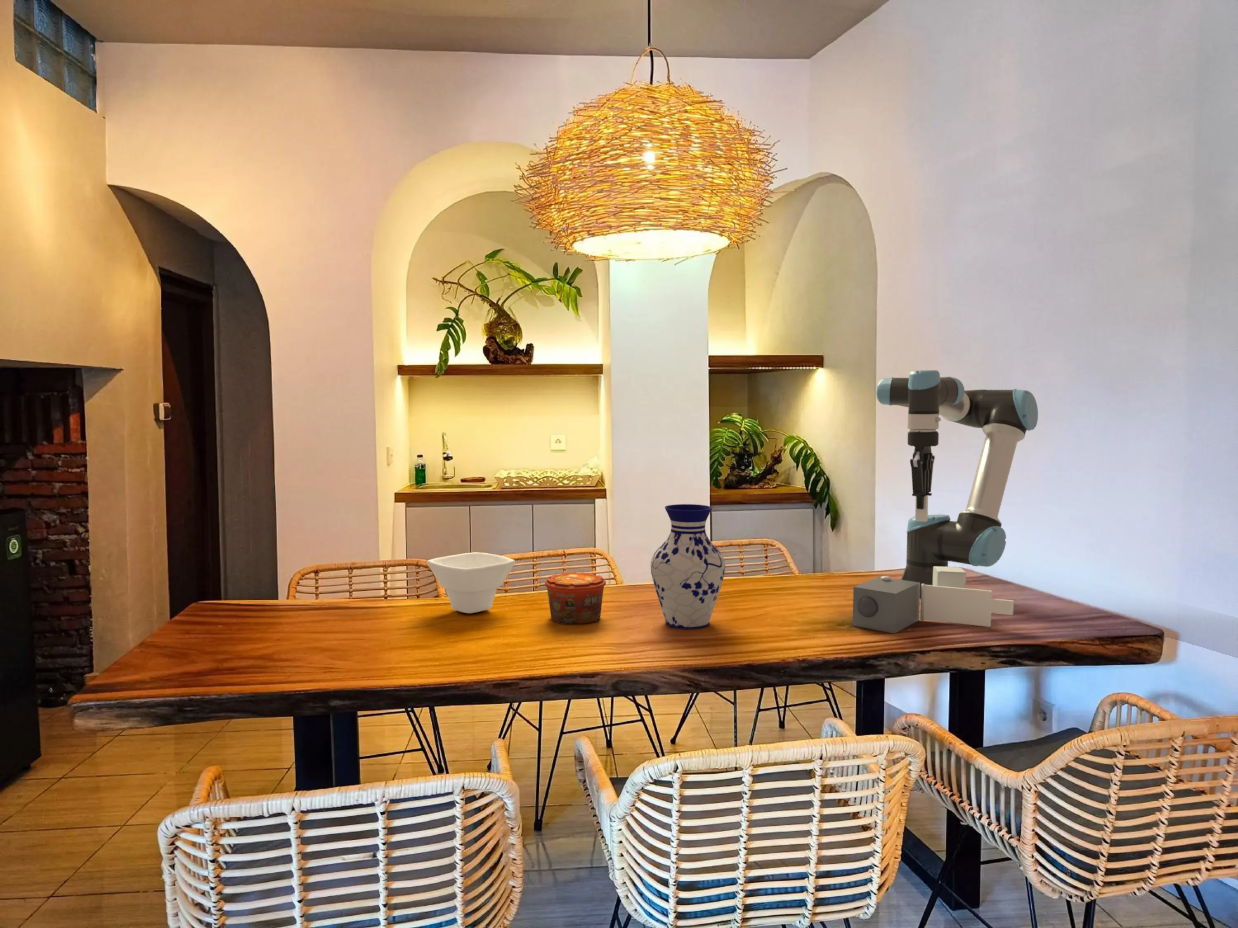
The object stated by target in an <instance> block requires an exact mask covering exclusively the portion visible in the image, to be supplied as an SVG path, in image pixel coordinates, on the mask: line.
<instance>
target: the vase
mask: <svg viewBox="0 0 1238 928" xmlns="http://www.w3.org/2000/svg"><path fill="white" fill-rule="evenodd" d="M664 509H665V512H666V513H667V516H668V518H669V520H670V525H671V526H670V532H669V534H668V537H666V539H665V541H664V542H662V544H661V545H660V546H659V547H658V548H657V549H656V550H655V552H654V553H653V554H652V557H651V561H650V574H651V577H652V582H653V585H654V589H655V593H656V595H657V599H658V602H659V605H660V608H661V612H662V614H663V617H664V621H665V624H666V625H667V626H669V627H671V628H675V629H678V630H679V629H681V630H697V629H699V630H700V629H702V628H705V627H708V625H709V624H710V620H711V618H712V617H711V616H712V615H713V611H714V608H715V605H716V603H717V600H718V596H719V594H720V591H721V589H722V584H723V581H724V577H725V573H726V563H725V559H724V557H723V554H722V553H721V552H720V551H719V550H718V548H717V547H716V546H715V545H714V543H712V541H711V540H710V539H709V537H708V534H707V532H706V523H707V520H708V518H709V515H710V513H711V512H712V510H713V507H712V506H711V505H705V504H697V503H695V504H694V503H693V504H690V503H683V504H680V503H679V504H668V505H665V506H664Z"/></svg>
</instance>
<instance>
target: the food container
mask: <svg viewBox="0 0 1238 928" xmlns="http://www.w3.org/2000/svg"><path fill="white" fill-rule="evenodd" d="M606 585H607V581H606V579H605V578H604V577H603V576H601V575H600V574H599V575H596V574H595V573H591V572H576V571H574V572H573V571H572V572H571V571H570V572H562V573H560V574H551V575H550V576H548V578H547V579H545V581H544V586H545V587H546V590H547V597H548V598H547V599H548V605H549V611H550V612H549V613H550V618H551V620H552V621H553V622H555V623H558V624H560V625H567V626H568V625H569V626H570V625H571V626H572V625H586V624H592V623H596V622H597V621H599V620H600V619H601V614H602V604H603V599H604V598H603V597H604V587H605V586H606Z"/></svg>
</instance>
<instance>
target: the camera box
mask: <svg viewBox="0 0 1238 928" xmlns="http://www.w3.org/2000/svg"><path fill="white" fill-rule="evenodd" d="M852 591H853V592H852V593H853V594H852V595H853V597H852V626H853V627H859V628H863V629H869V630H874V631H879V632H885V633H889V634H890V633H891V634H897V633H898V632H900V631H902V630H904V629H905V628H908V627H909V626H912V624H915V623H917V622H919V620H920V603H921V597H920V583H919V582H913V581H906V580H901V579H898V578H892V577H891V576H888V575H883V576H881V575H880V576H877V577H874V578H872V579H870V580H868V581H865V582H863V583H860V584H858V585H855V586H853V590H852Z"/></svg>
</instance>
